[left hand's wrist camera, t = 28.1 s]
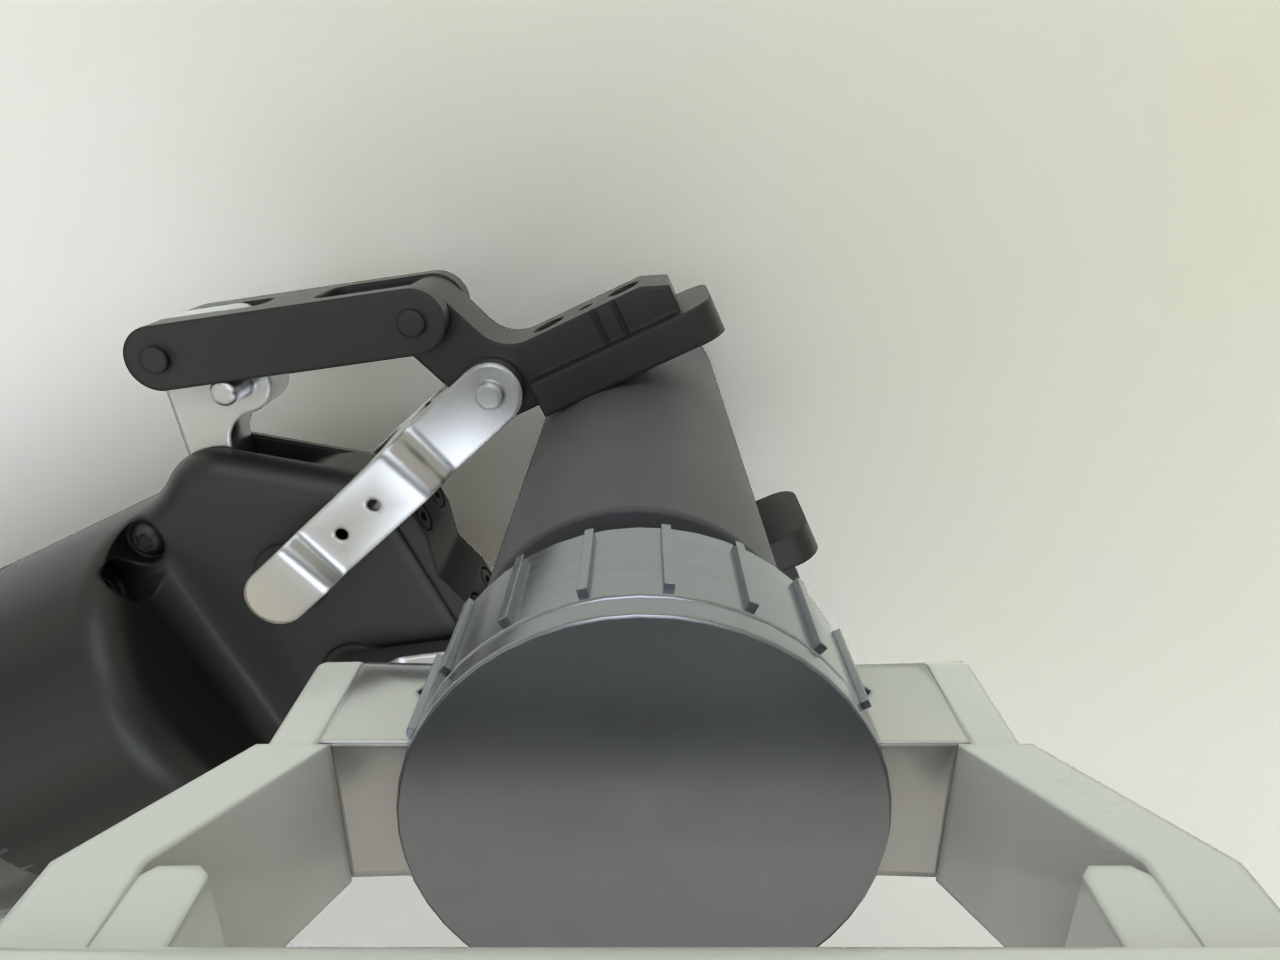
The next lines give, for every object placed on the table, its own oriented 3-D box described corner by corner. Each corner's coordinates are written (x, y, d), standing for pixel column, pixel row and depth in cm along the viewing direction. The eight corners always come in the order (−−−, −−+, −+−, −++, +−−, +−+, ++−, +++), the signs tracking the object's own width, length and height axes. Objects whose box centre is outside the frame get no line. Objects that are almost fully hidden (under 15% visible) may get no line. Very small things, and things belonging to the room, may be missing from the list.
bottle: (729, 440, 24) (851, 841, 10) (585, 477, 25) (514, 910, 11) (694, 294, 23) (781, 529, 9) (541, 335, 23) (390, 622, 9)
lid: (840, 489, 9) (889, 570, 8) (866, 847, 11) (910, 983, 9) (385, 552, 10) (327, 647, 8) (484, 892, 12) (455, 1032, 10)
